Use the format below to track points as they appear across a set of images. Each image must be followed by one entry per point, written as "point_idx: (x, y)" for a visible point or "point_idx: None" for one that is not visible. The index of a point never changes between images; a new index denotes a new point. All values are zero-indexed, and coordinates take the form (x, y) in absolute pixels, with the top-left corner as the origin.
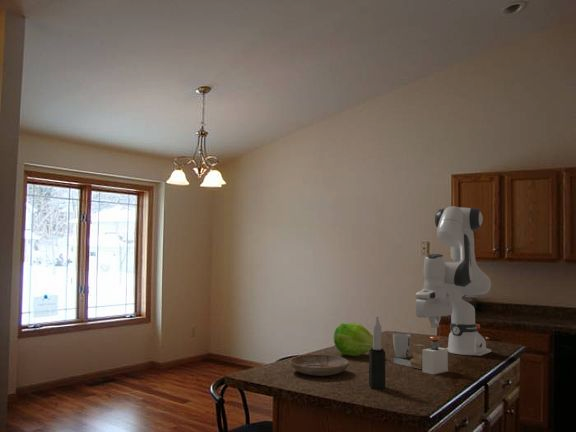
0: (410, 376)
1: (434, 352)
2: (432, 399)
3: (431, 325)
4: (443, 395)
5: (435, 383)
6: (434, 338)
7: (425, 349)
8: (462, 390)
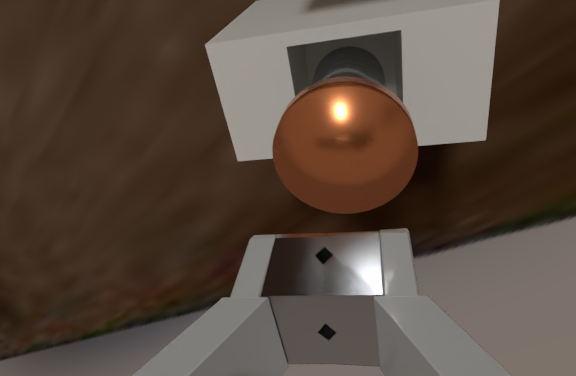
0: (113, 59)
1: (267, 152)
2: (46, 314)
3: (248, 268)
4: (101, 309)
5: (165, 214)
6: (291, 186)
7: (240, 58)
8: (202, 310)
